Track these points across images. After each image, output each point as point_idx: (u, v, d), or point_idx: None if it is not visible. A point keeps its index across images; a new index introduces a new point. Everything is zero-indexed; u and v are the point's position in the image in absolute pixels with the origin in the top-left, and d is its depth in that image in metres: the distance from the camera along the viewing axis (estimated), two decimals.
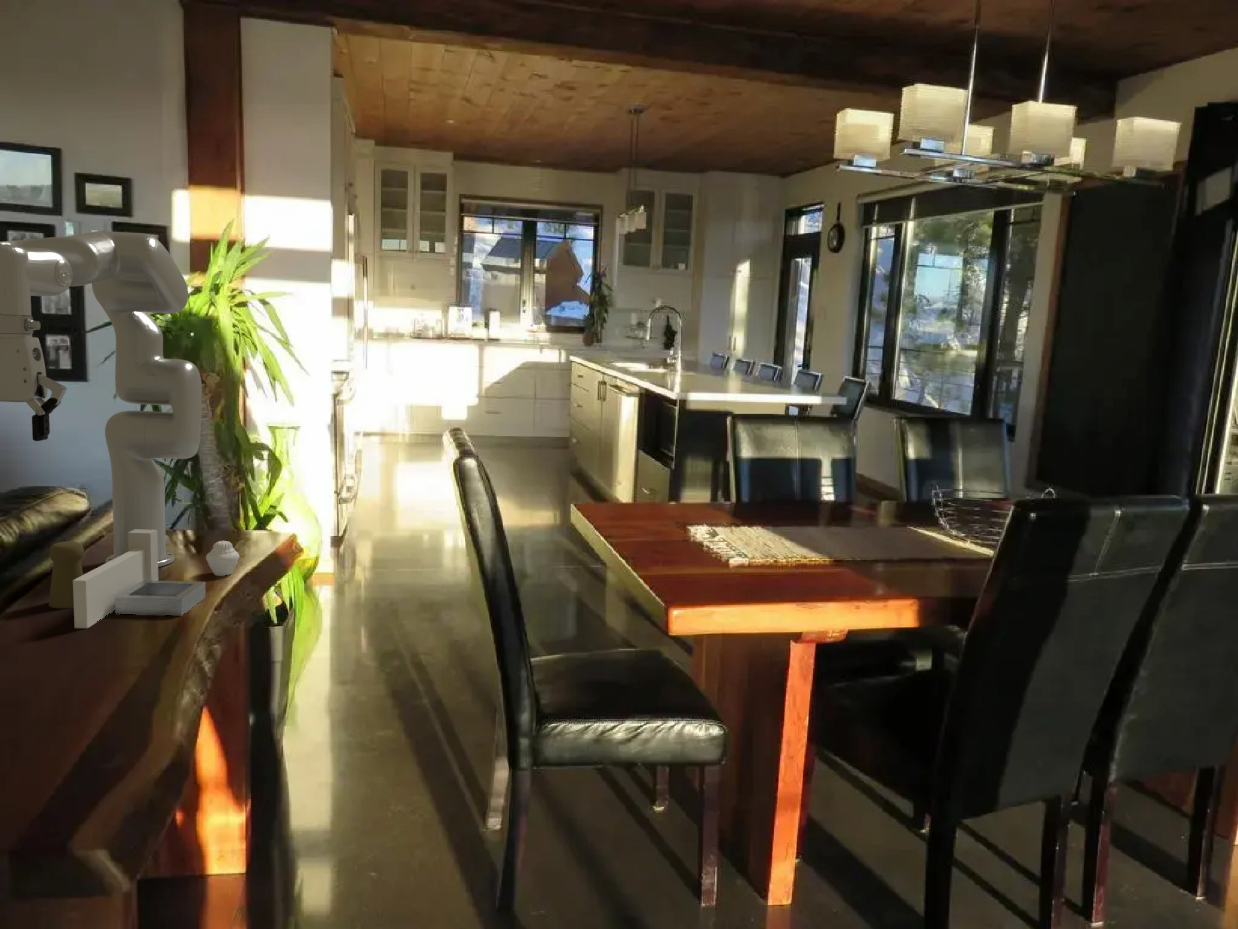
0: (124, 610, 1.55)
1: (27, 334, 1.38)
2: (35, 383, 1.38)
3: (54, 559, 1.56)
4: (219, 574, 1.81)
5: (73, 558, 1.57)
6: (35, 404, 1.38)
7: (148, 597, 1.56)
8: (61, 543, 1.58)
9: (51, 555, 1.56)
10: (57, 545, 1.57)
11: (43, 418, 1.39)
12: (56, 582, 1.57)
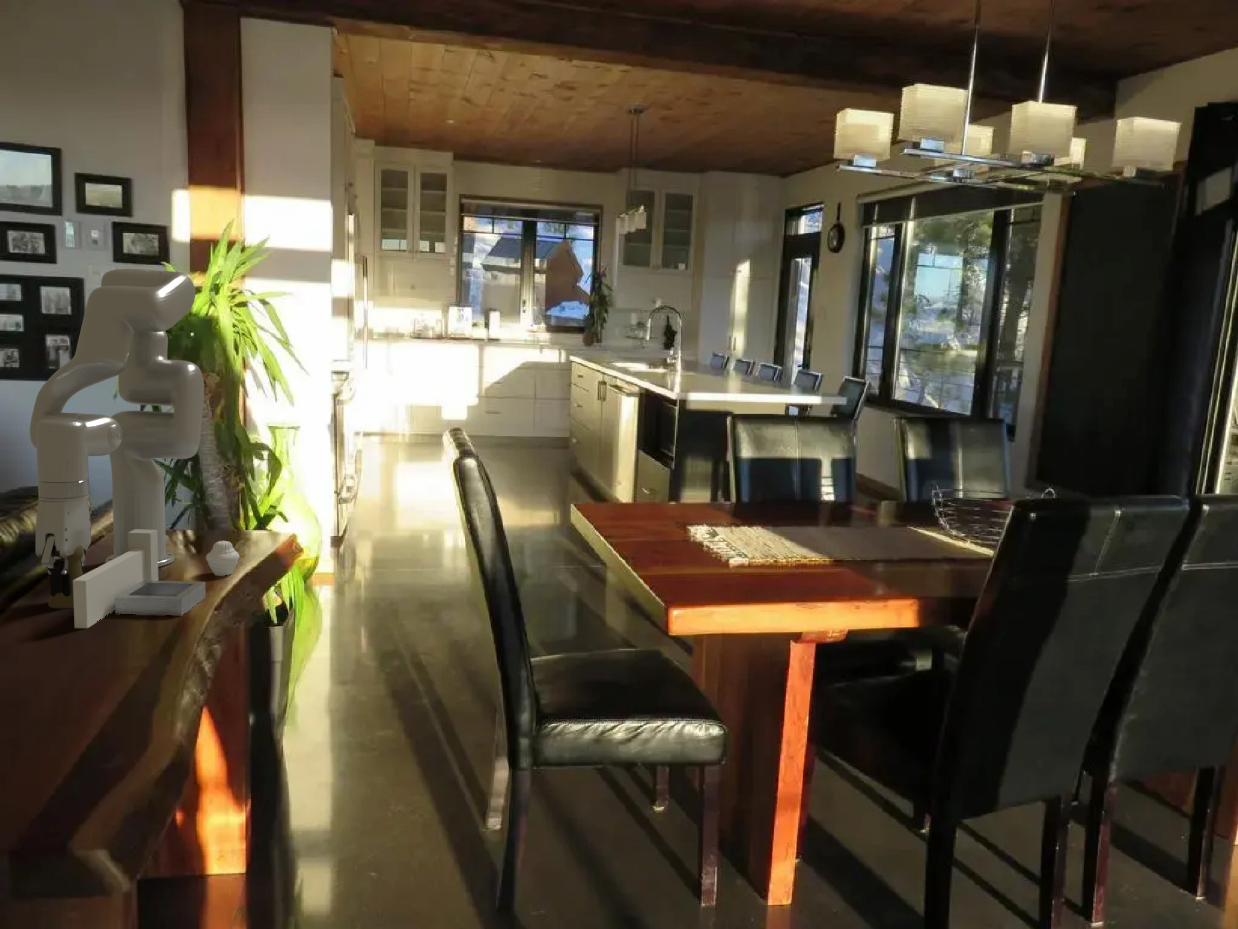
0: (124, 610, 1.55)
1: None
2: None
3: None
4: (219, 574, 1.81)
5: (73, 558, 1.57)
6: (83, 556, 1.62)
7: (148, 597, 1.56)
8: None
9: None
10: None
11: None
12: None
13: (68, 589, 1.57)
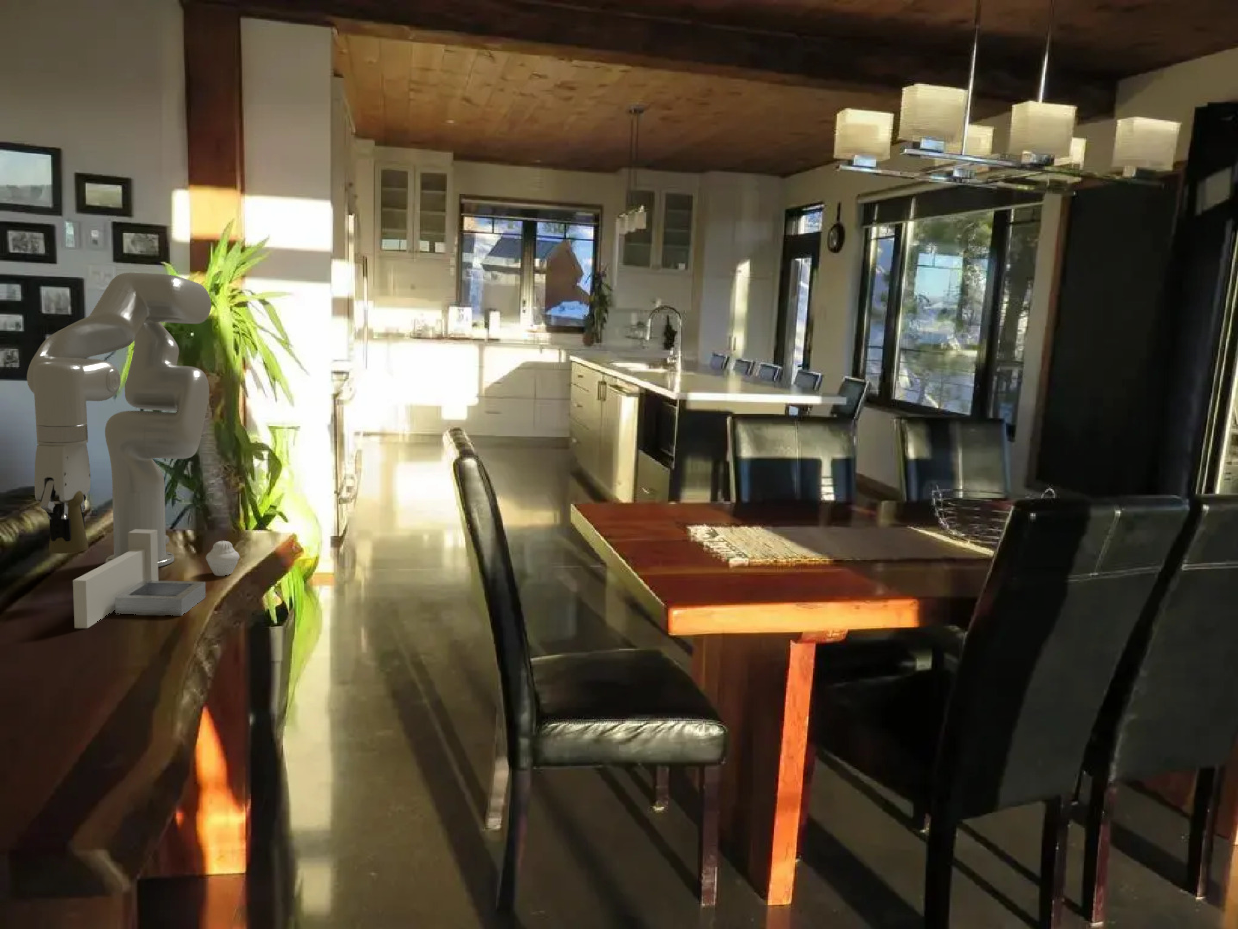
0: (124, 610, 1.55)
1: None
2: None
3: None
4: (219, 574, 1.81)
5: (73, 503, 1.56)
6: (83, 501, 1.61)
7: (148, 597, 1.56)
8: None
9: None
10: None
11: None
12: None
13: (68, 534, 1.56)
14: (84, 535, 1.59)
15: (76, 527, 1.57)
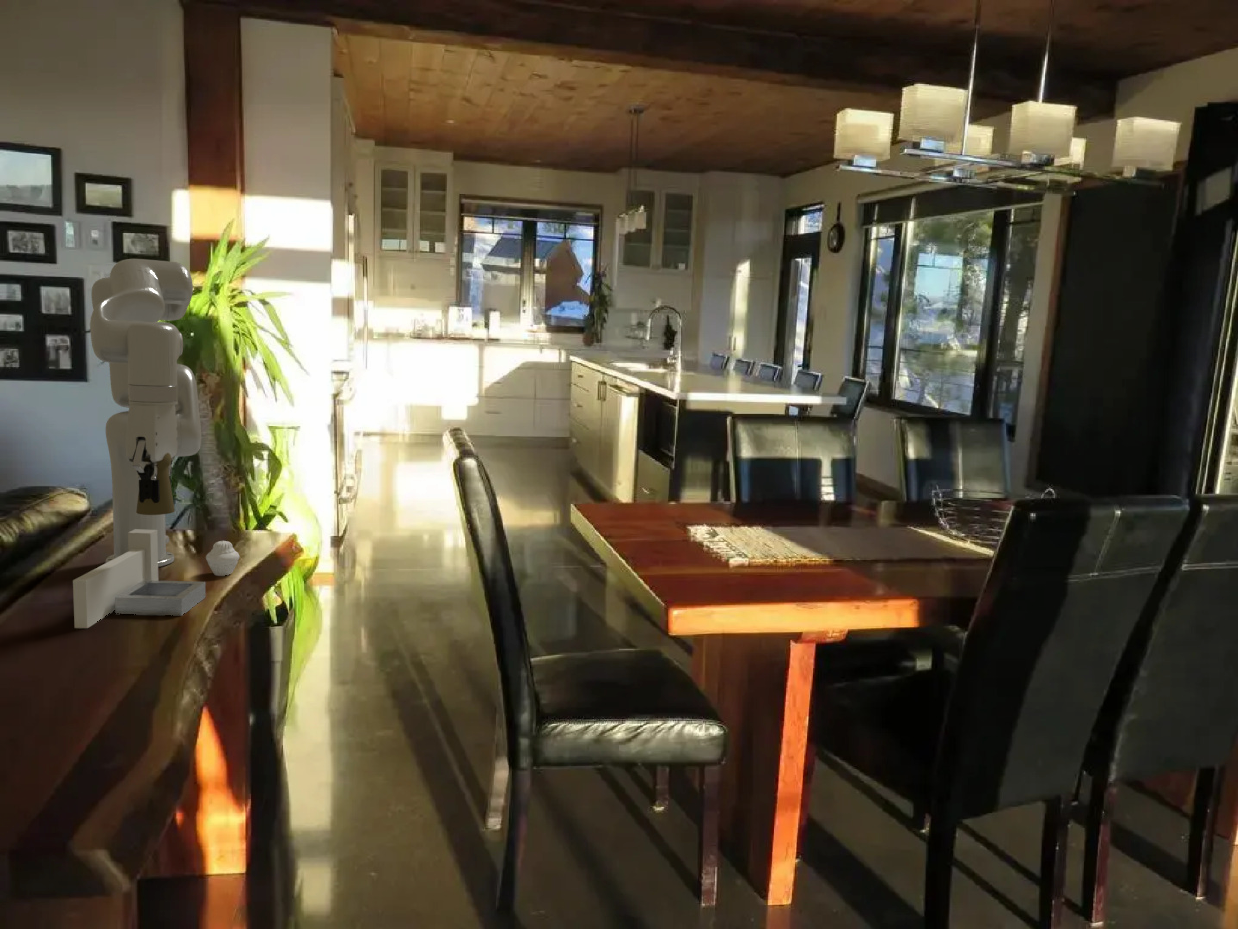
0: (124, 610, 1.55)
1: None
2: None
3: None
4: (219, 574, 1.81)
5: (162, 464, 1.56)
6: (170, 465, 1.61)
7: (148, 597, 1.56)
8: None
9: None
10: None
11: None
12: None
13: (157, 495, 1.56)
14: (171, 498, 1.59)
15: (164, 488, 1.57)
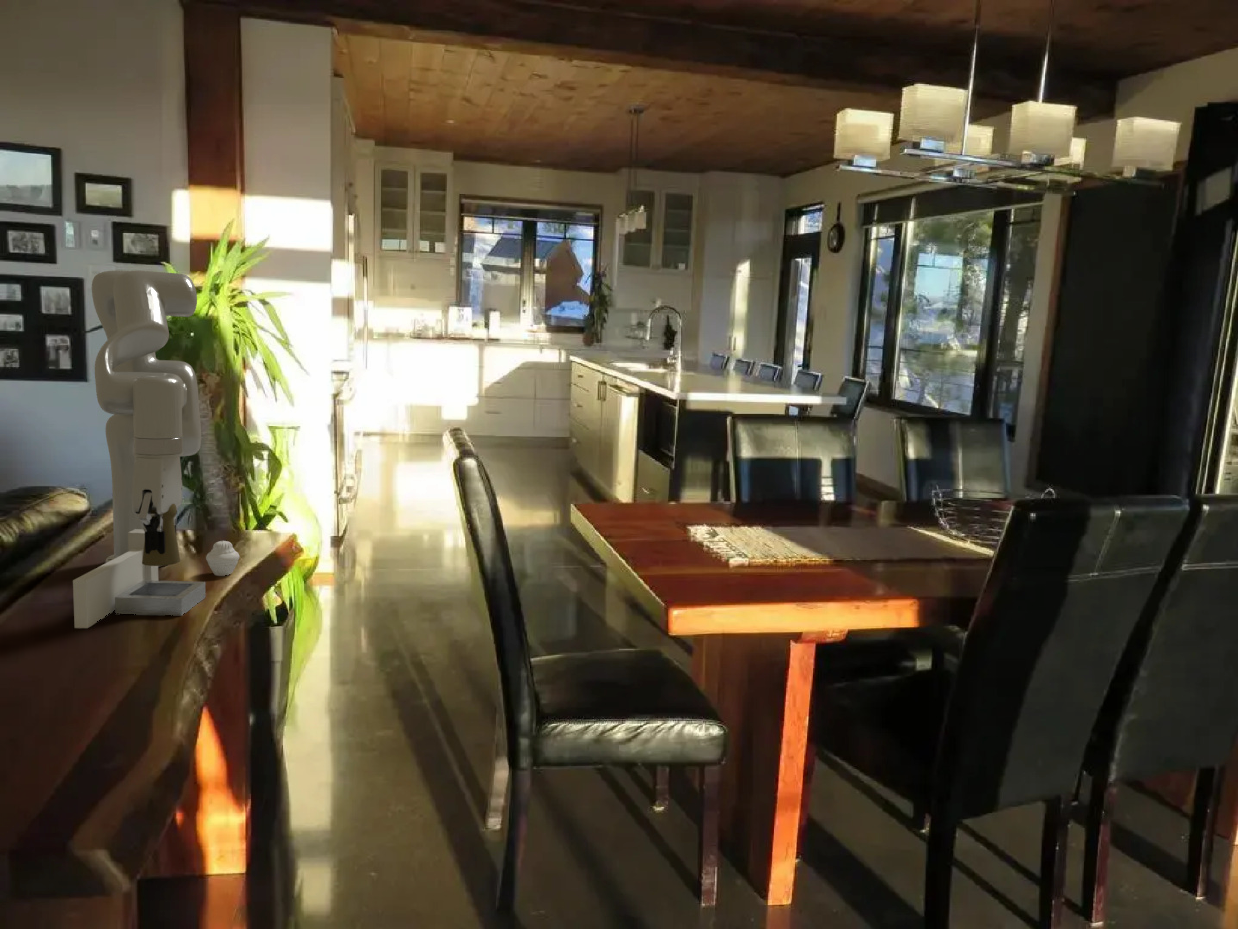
0: (124, 610, 1.55)
1: None
2: None
3: None
4: (219, 574, 1.81)
5: (167, 515, 1.57)
6: (175, 515, 1.62)
7: (148, 597, 1.56)
8: None
9: None
10: None
11: None
12: None
13: (163, 547, 1.57)
14: (177, 548, 1.60)
15: (170, 539, 1.58)
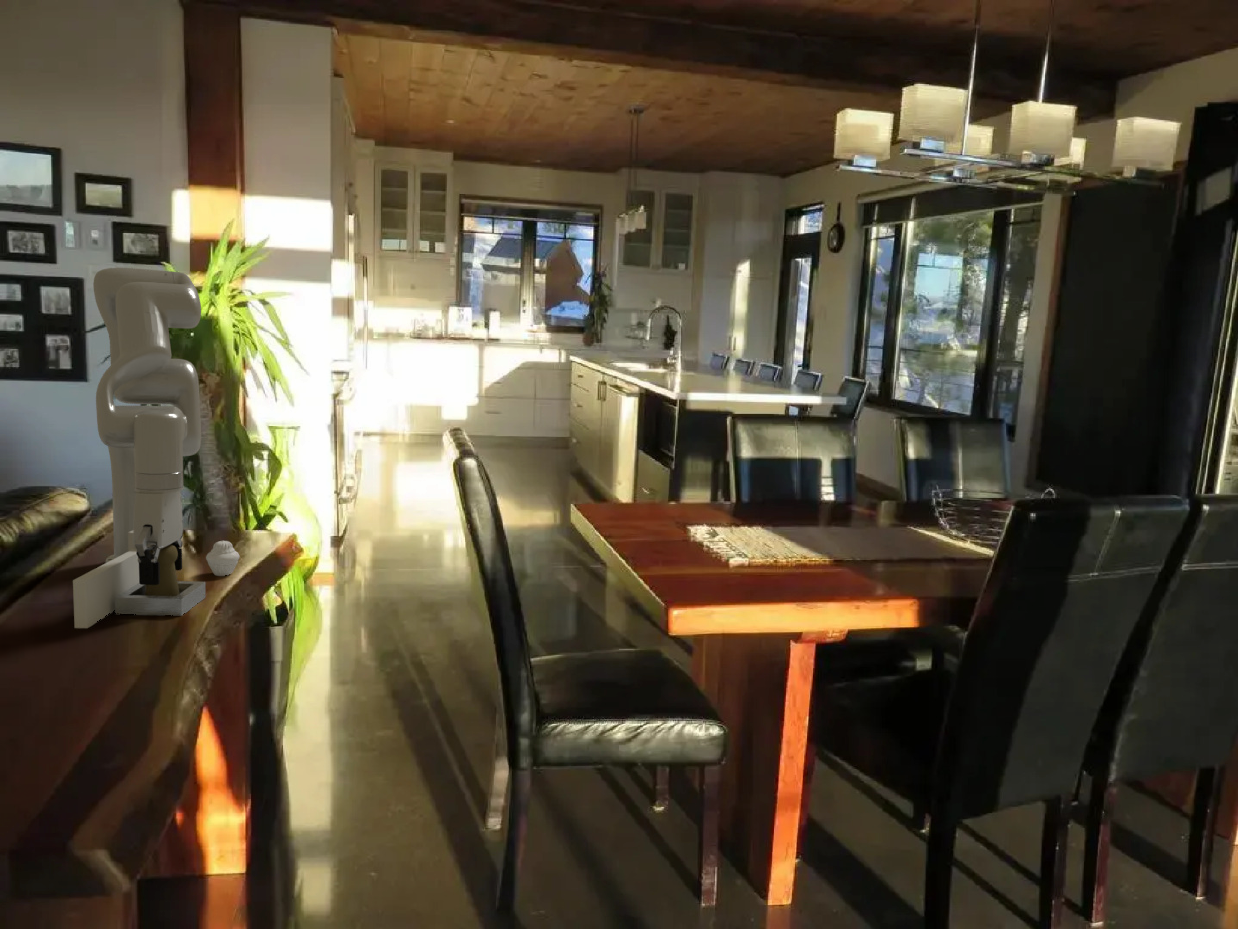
0: (124, 610, 1.55)
1: None
2: None
3: None
4: (219, 574, 1.81)
5: (168, 560, 1.59)
6: (180, 539, 1.65)
7: (148, 597, 1.56)
8: None
9: None
10: None
11: None
12: None
13: (157, 577, 1.55)
14: (177, 591, 1.62)
15: (170, 583, 1.60)
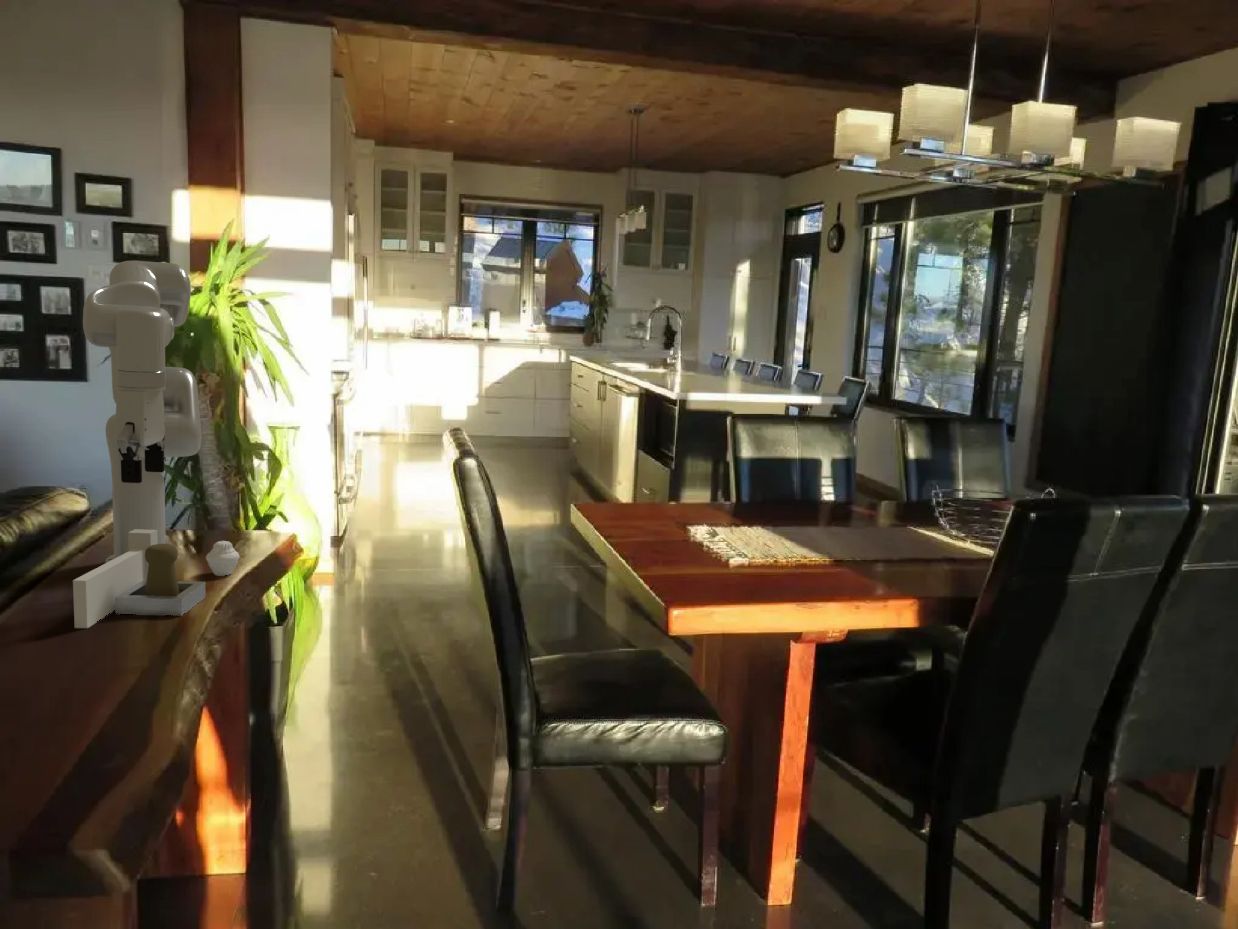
0: (124, 610, 1.55)
1: None
2: None
3: (150, 561, 1.58)
4: (219, 574, 1.81)
5: (168, 560, 1.59)
6: (162, 441, 1.64)
7: (148, 597, 1.56)
8: (156, 545, 1.59)
9: (147, 557, 1.58)
10: (153, 548, 1.58)
11: None
12: (152, 584, 1.59)
13: (139, 476, 1.55)
14: (177, 591, 1.62)
15: (170, 583, 1.60)
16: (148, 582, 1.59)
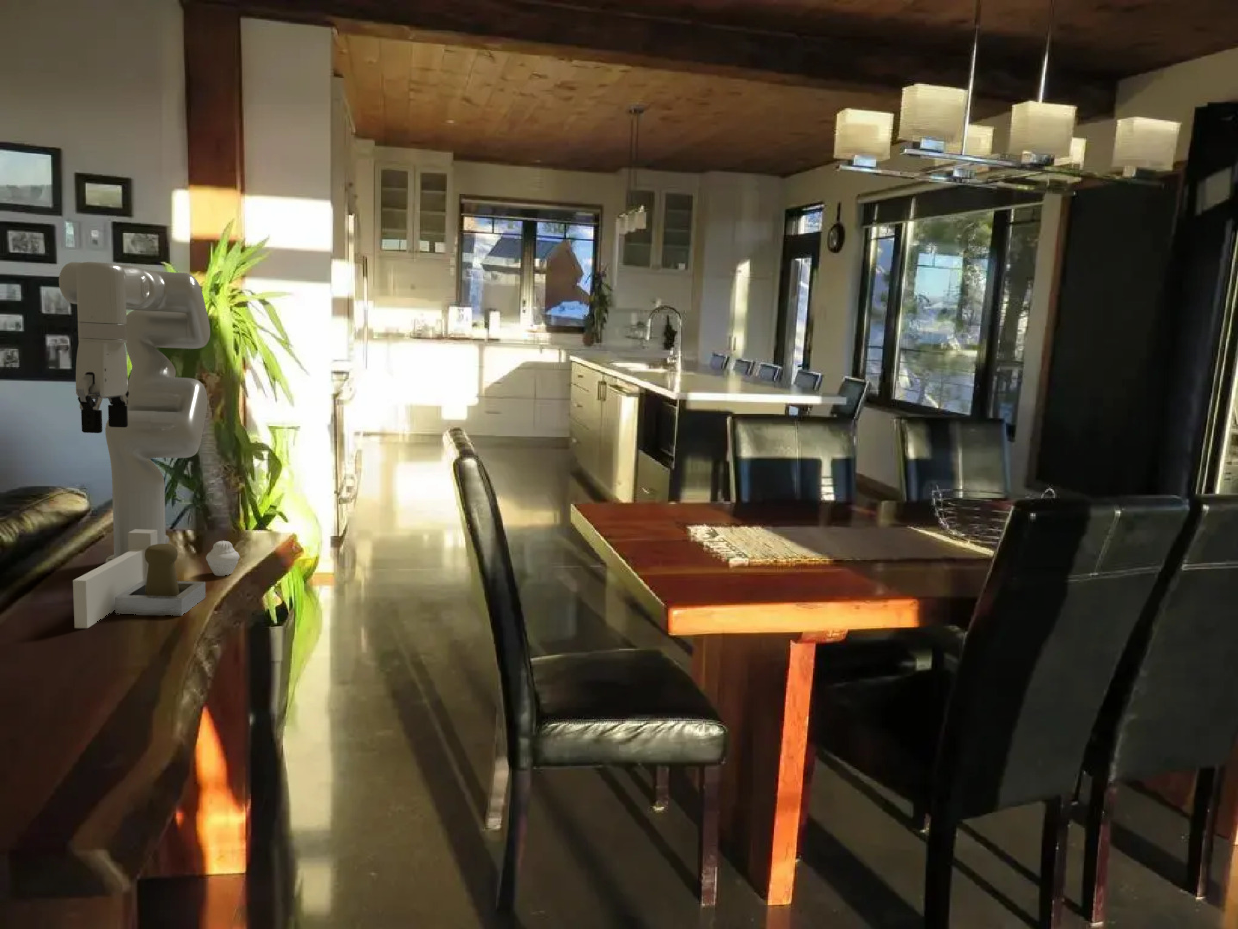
0: (124, 610, 1.55)
1: None
2: None
3: (150, 561, 1.58)
4: (219, 574, 1.81)
5: (168, 560, 1.59)
6: (125, 396, 1.67)
7: (148, 597, 1.56)
8: (156, 545, 1.59)
9: (147, 557, 1.58)
10: (153, 548, 1.58)
11: None
12: (152, 584, 1.59)
13: (99, 425, 1.58)
14: (177, 591, 1.62)
15: (170, 583, 1.60)
16: (148, 582, 1.59)
